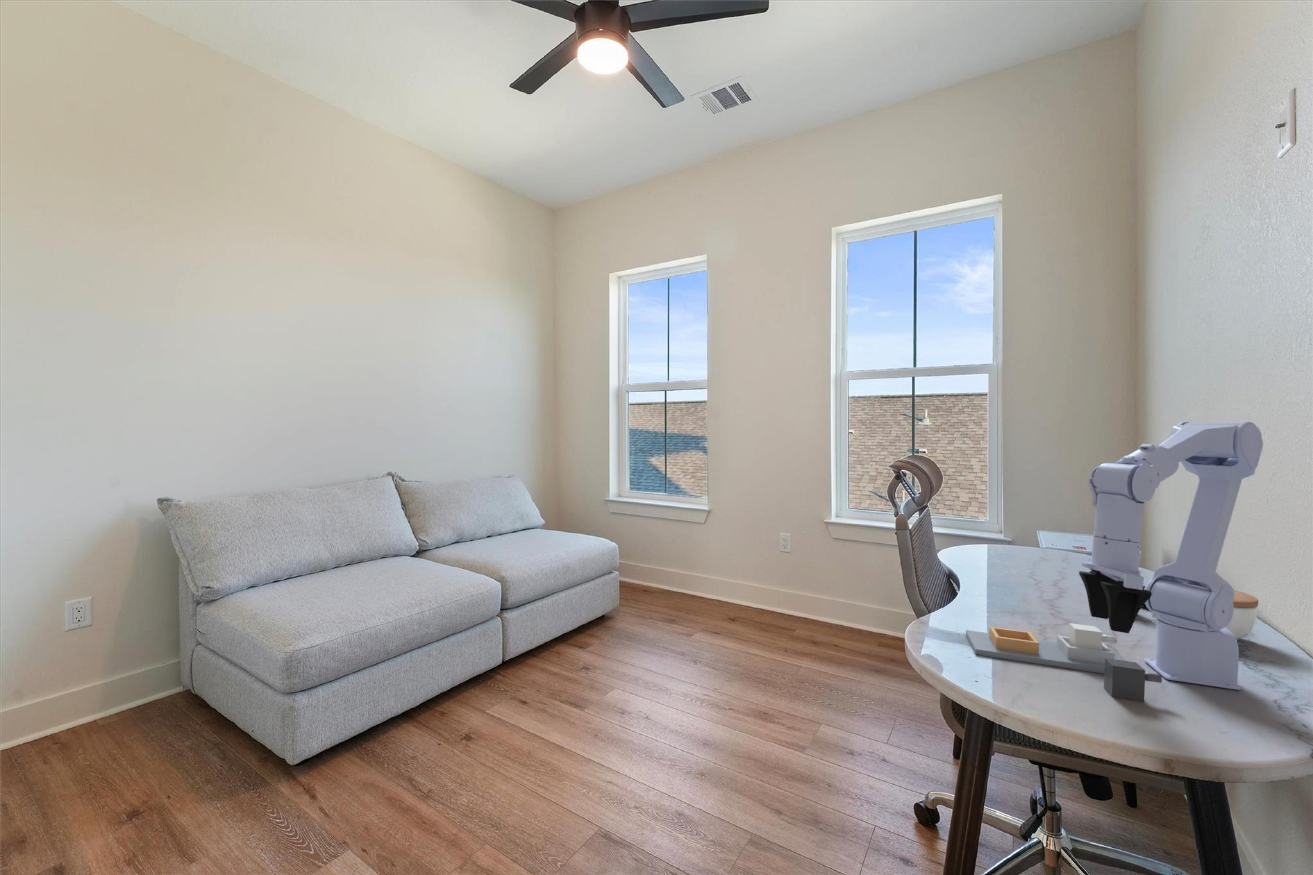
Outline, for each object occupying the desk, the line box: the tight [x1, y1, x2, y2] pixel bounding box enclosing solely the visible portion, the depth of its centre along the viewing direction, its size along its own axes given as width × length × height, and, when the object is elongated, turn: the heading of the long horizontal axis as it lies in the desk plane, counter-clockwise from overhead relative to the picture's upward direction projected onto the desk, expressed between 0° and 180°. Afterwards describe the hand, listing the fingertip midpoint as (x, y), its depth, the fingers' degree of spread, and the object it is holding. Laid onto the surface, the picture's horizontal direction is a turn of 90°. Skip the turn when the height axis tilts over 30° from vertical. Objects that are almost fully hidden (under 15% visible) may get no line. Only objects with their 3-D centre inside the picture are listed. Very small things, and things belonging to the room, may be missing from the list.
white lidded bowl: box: [1182, 583, 1259, 641], centre depth 109 cm, size 13×13×11 cm
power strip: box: [965, 622, 1126, 674], centre depth 99 cm, size 24×10×6 cm, turn 69°
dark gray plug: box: [1103, 658, 1163, 703], centre depth 84 cm, size 6×3×5 cm, turn 69°
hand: (1109, 624), depth 85 cm, fingers open, 7 cm apart
